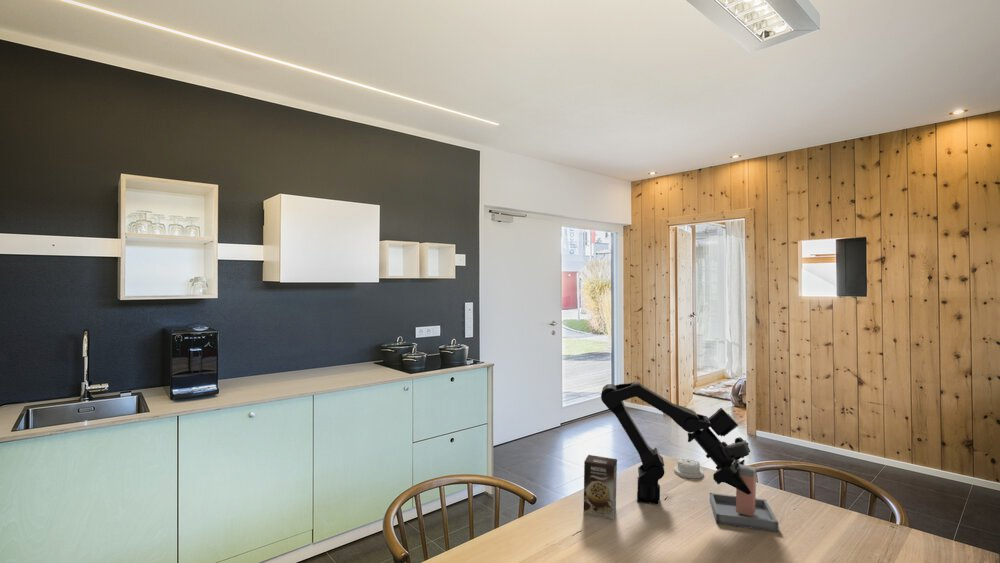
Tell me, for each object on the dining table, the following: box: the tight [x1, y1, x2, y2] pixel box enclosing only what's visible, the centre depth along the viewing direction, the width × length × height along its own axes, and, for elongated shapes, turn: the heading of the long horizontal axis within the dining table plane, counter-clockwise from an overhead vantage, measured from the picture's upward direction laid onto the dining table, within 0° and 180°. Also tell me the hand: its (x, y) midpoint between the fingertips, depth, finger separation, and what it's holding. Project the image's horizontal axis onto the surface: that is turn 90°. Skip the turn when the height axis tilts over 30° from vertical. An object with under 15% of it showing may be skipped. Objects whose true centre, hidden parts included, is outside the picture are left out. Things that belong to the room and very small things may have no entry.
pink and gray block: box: [735, 464, 757, 517], centre depth 143 cm, size 4×4×13 cm
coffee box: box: [582, 454, 618, 521], centre depth 146 cm, size 9×6×16 cm
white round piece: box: [673, 457, 705, 480], centre depth 175 cm, size 10×4×10 cm
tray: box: [709, 492, 779, 533], centre depth 144 cm, size 16×14×3 cm
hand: (751, 490), depth 143 cm, fingers closed on pink and gray block, 4 cm apart
